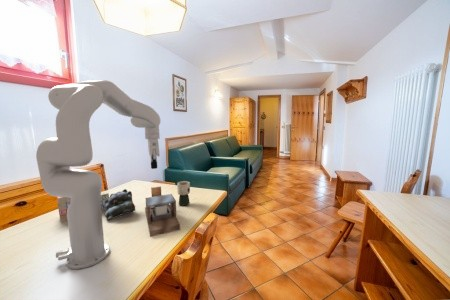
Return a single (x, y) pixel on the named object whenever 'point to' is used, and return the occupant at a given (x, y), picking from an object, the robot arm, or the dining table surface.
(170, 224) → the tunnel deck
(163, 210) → the block
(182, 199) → the character mug
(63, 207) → the stack of blocks
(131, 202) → the lucky cat figurine
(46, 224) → the dining table surface
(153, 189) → the sled
